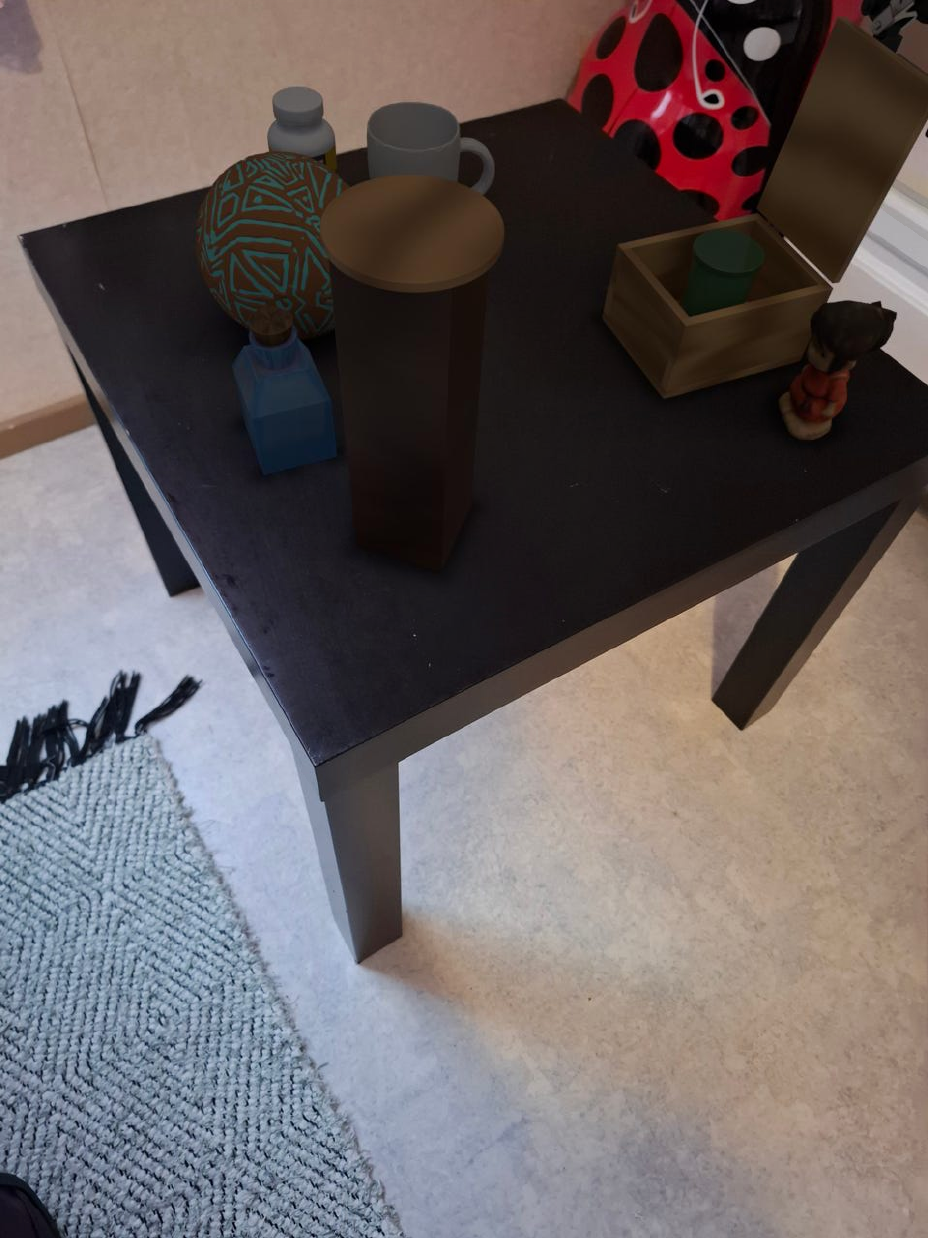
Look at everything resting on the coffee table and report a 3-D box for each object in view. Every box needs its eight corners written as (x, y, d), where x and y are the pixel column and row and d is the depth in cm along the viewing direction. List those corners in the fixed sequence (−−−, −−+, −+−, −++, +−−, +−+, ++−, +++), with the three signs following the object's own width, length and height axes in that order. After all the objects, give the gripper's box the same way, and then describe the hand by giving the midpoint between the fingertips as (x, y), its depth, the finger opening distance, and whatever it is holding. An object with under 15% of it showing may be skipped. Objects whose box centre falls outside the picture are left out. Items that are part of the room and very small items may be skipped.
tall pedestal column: (494, 499, 71) (527, 197, 49) (453, 594, 65) (469, 301, 44) (379, 465, 72) (362, 158, 51) (329, 555, 67) (288, 255, 46)
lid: (937, 88, 62) (989, 85, 64) (837, 16, 68) (887, 14, 70) (832, 283, 75) (878, 276, 76) (755, 208, 81) (800, 203, 82)
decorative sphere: (183, 313, 82) (140, 153, 69) (314, 253, 88) (296, 96, 75) (276, 401, 76) (248, 243, 63) (409, 330, 82) (408, 173, 69)
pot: (739, 320, 83) (769, 238, 76) (729, 360, 80) (759, 279, 73) (676, 304, 84) (700, 222, 77) (663, 343, 81) (687, 261, 74)
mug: (378, 252, 88) (375, 153, 80) (363, 202, 93) (358, 103, 85) (501, 240, 90) (509, 142, 82) (480, 191, 95) (486, 94, 87)
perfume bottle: (337, 456, 73) (324, 338, 63) (263, 475, 71) (238, 357, 61) (315, 406, 76) (300, 286, 66) (244, 423, 74) (217, 303, 64)
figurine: (800, 384, 80) (855, 268, 70) (850, 419, 78) (914, 304, 68) (756, 413, 78) (806, 297, 68) (806, 450, 75) (865, 336, 65)
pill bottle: (291, 239, 89) (276, 122, 79) (268, 206, 92) (251, 88, 82) (351, 224, 91) (343, 108, 81) (326, 192, 94) (316, 76, 84)
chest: (663, 399, 78) (685, 325, 72) (601, 318, 84) (617, 243, 77) (800, 361, 82) (833, 287, 75) (732, 286, 88) (757, 212, 81)
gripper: (1143, -113, 54) (998, 148, 68) (986, -188, 61) (883, 63, 75) (1052, -101, 52) (922, 165, 66) (900, -180, 59) (811, 76, 73)
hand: (901, 110), depth 70 cm, fingers open, 8 cm apart
